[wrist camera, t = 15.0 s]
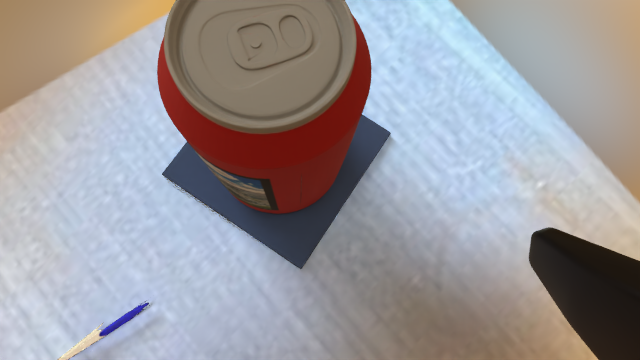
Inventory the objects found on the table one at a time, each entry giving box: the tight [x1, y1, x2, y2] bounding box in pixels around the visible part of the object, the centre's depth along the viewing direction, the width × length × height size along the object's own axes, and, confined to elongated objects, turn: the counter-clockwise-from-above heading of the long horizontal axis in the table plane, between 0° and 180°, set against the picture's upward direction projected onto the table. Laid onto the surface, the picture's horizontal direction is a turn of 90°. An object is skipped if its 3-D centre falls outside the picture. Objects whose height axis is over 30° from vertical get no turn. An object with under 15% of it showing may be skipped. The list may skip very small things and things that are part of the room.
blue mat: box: [162, 114, 390, 269], centre depth 24 cm, size 9×9×1 cm
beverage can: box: [157, 0, 371, 214], centre depth 18 cm, size 7×7×12 cm
